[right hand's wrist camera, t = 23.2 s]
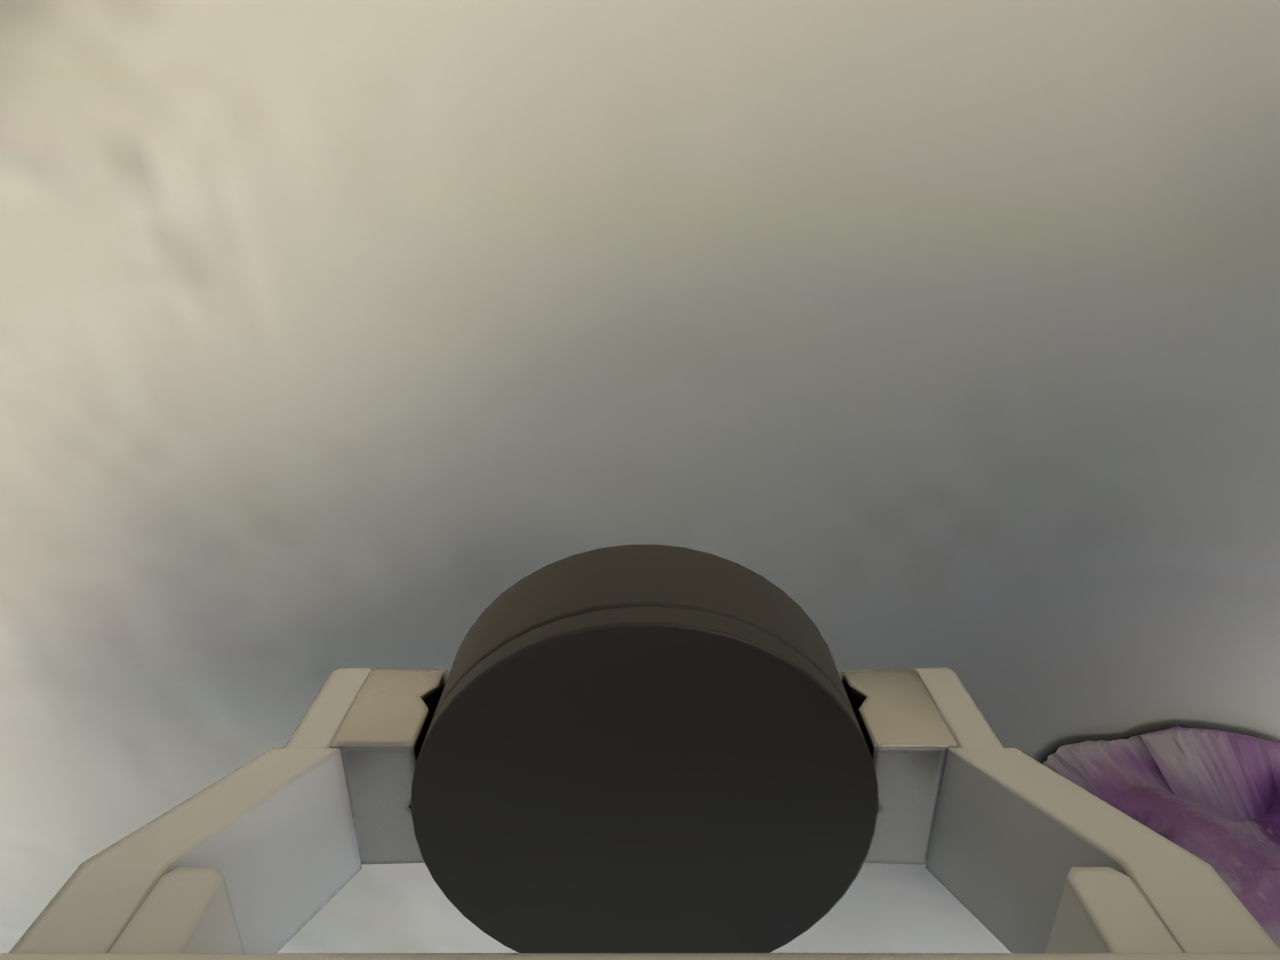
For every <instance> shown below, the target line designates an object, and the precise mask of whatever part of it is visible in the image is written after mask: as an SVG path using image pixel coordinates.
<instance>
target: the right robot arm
mask: <svg viewBox="0 0 1280 960" xmlns="http://www.w3.org/2000/svg"><path fill="white" fill-rule="evenodd" d="M838 673H839V676H840V678H841V681H842V683H843V686H844V688H845V691H846V693H847V696H848V698H849V701H850V703H851V706H852V708H853V711H854V713H855V716H856V718H857V721H858V724H859V726H860V729H861V731H862V734H863V736H864V739H865V741H866V744H867V746H868V749H869V751H870V754H871V756H872V759H873V763H874V768H875V773H876V778H877V782H878V814H877V821H876V828H875V833H874V837H873V840H872V843H871V846H870V849H869V853H868V855H867V857H866V859H865V861H864V863H895V864H926V868H927V869H928V870H929V871H930V872H931V873H932V874H933V875H934V876H935V877H936V878H937V879H938V880H939V881H940V882H941V883H942V884H943V885H944V886H945V887H946V888H947V889H948V890H949V891H950V892H951V893H952V894H953V895H954V896H955V897H956V898H957V899H958V900H959V901H960V902H961V903H962V904H963V905H964V906H965V907H966V908H967V909H968V910H969V911H970V912H971V913H972V914H973V915H974V916H975V917H976V918H977V919H978V920H979V921H980V922H981V923H982V924H983V925H984V926H985V927H986V928H987V929H988V930H989V931H990V932H991V933H992V934H993V935H994V936H995V937H996V938H997V939H998V940H999V941H1000V942H1001V943H1002V944H1003V945H1004V946H1005V947H1006V948H1007V949H1008V950H1009V951H1010V952H1011V953H277V952H278V951H279V950H280V949H281V948H282V947H283V946H284V945H285V944H286V943H287V942H288V941H289V940H290V939H291V938H292V937H293V936H294V935H295V934H296V933H297V932H298V931H299V930H300V929H301V928H302V927H303V926H304V925H305V924H306V923H307V922H308V921H309V920H310V919H311V918H312V917H313V916H314V915H315V914H316V913H317V912H318V911H319V910H320V909H321V908H322V907H323V906H324V905H325V904H326V903H327V902H328V901H329V900H330V899H331V898H332V897H333V896H334V895H335V894H336V893H337V892H338V891H339V890H340V889H341V888H342V887H343V886H344V885H345V884H346V883H347V882H348V881H349V880H350V879H351V878H352V877H353V876H354V875H355V874H356V873H357V872H358V871H359V870H360V869H361V864H392V863H425V862H424V860H423V858H422V855H421V852H420V849H419V846H418V843H417V840H416V837H415V832H414V826H413V820H412V814H411V786H412V781H413V775H414V770H415V765H416V761H417V758H418V756H419V753H420V750H421V748H422V745H423V742H424V740H425V737H426V734H427V732H428V729H429V726H430V724H431V721H432V719H433V716H434V713H435V711H436V708H437V705H438V703H439V700H440V697H441V695H442V692H443V690H444V687H445V684H446V682H447V679H448V676H449V674H450V673H449V671H448V670H443V669H396V668H376V669H373V668H339V669H337V670H335V671H333V672H332V673H331V674H330V676H329V678H328V679H327V681H326V682H325V684H324V686H323V687H322V689H321V690H320V692H319V694H318V695H317V697H316V698H315V700H314V702H313V703H312V705H311V706H310V708H309V710H308V711H307V713H306V714H305V716H304V718H303V719H302V721H301V722H300V724H299V725H298V727H297V729H296V730H295V732H294V733H293V735H292V737H291V738H290V740H289V741H288V743H287V745H286V746H285V748H272V749H271V750H269V751H267V752H266V753H264V754H262V755H261V756H259V757H257V758H256V759H254V760H252V761H251V762H249V763H247V764H246V765H244V766H242V767H241V768H239V769H237V770H236V771H234V772H232V773H231V774H229V775H227V776H226V777H224V778H222V779H221V780H219V781H218V782H216V783H214V784H213V785H211V786H209V787H208V788H206V789H204V790H203V791H201V792H199V793H198V794H196V795H194V796H193V797H191V798H189V799H188V800H186V801H184V802H183V803H181V804H179V805H178V806H176V807H174V808H173V809H171V810H169V811H168V812H166V813H164V814H163V815H161V816H159V817H158V818H156V819H154V820H153V821H151V822H149V823H148V824H146V825H145V826H143V827H141V828H140V829H138V830H136V831H135V832H133V833H131V834H130V835H128V836H126V837H125V838H123V839H121V840H120V841H118V842H116V843H115V844H113V845H111V846H110V847H108V848H106V849H105V850H103V851H101V852H100V853H98V854H96V855H95V856H93V857H91V858H90V859H88V860H86V861H85V862H83V863H82V864H81V865H80V866H79V867H78V868H77V870H76V871H75V872H74V873H73V875H72V876H71V877H70V878H69V879H68V881H67V882H66V883H65V884H64V886H63V887H62V888H61V889H60V891H59V892H58V893H57V894H56V895H55V897H54V898H53V899H52V900H51V902H50V903H49V904H48V905H47V906H46V908H45V909H44V910H43V911H42V913H41V914H40V915H39V916H38V917H37V919H36V920H35V921H34V922H33V924H32V925H31V926H30V927H29V929H28V930H27V931H26V932H25V933H24V935H23V936H22V937H21V938H20V940H19V941H18V942H17V943H16V944H15V946H14V947H13V948H12V949H11V951H10V952H9V953H0V960H1280V949H1279V948H1278V947H1277V945H1276V944H1275V943H1274V942H1273V940H1272V939H1271V938H1270V937H1269V936H1268V934H1267V933H1266V932H1265V931H1264V930H1263V928H1262V927H1261V926H1260V925H1259V924H1258V922H1257V921H1256V920H1255V919H1254V917H1253V916H1252V915H1251V914H1250V913H1249V911H1248V910H1247V909H1246V908H1245V907H1244V905H1243V904H1242V903H1241V902H1240V900H1239V899H1238V898H1237V897H1236V896H1235V894H1234V893H1233V892H1232V891H1231V890H1230V888H1229V887H1228V886H1227V885H1226V884H1225V882H1224V881H1223V880H1222V879H1221V877H1220V876H1219V875H1218V874H1217V873H1216V871H1215V870H1214V869H1213V868H1212V867H1211V865H1210V864H1208V863H1206V862H1205V861H1203V860H1201V859H1200V858H1198V857H1196V856H1195V855H1193V854H1191V853H1190V852H1188V851H1186V850H1185V849H1183V848H1181V847H1180V846H1178V845H1176V844H1175V843H1173V842H1171V841H1170V840H1168V839H1166V838H1165V837H1163V836H1161V835H1160V834H1158V833H1156V832H1155V831H1153V830H1151V829H1150V828H1148V827H1146V826H1145V825H1143V824H1141V823H1140V822H1138V821H1136V820H1135V819H1133V818H1131V817H1129V816H1128V815H1126V814H1124V813H1123V812H1121V811H1119V810H1118V809H1116V808H1114V807H1113V806H1111V805H1109V804H1108V803H1106V802H1104V801H1103V800H1101V799H1099V798H1098V797H1096V796H1094V795H1093V794H1091V793H1089V792H1088V791H1086V790H1084V789H1083V788H1081V787H1079V786H1078V785H1076V784H1074V783H1073V782H1071V781H1069V780H1068V779H1066V778H1064V777H1063V776H1061V775H1059V774H1058V773H1056V772H1054V771H1053V770H1051V769H1049V768H1048V767H1046V766H1044V765H1043V764H1041V763H1039V762H1038V761H1036V760H1034V759H1033V758H1031V757H1029V756H1028V755H1026V754H1024V753H1023V752H1021V751H1019V750H1018V749H1016V748H1003V746H1002V745H1001V743H1000V741H999V740H998V738H997V737H996V735H995V734H994V732H993V731H992V729H991V728H990V726H989V725H988V723H987V721H986V720H985V718H984V717H983V715H982V714H981V712H980V711H979V709H978V708H977V706H976V704H975V703H974V701H973V700H972V698H971V697H970V695H969V694H968V692H967V691H966V689H965V687H964V686H963V684H962V683H961V681H960V680H959V678H958V677H957V675H956V674H955V672H954V671H953V670H951V669H949V668H948V667H947V668H915V669H911V670H838Z"/></svg>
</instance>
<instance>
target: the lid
mask: <svg viewBox="0 0 1280 960" xmlns="http://www.w3.org/2000/svg"><path fill="white" fill-rule="evenodd" d="M411 814H412V820H413V826H414V832H415V837H416V840H417V843H418V846H419V849H420V852H421V855H422V858H423V860H424V862H425V864H426V866H427V868H428V869H429V871H430V873H431V875H432V877H433V879H434V880H435V882H436V883H437V885H438V886H439V887H440V889H441V890H442V892H443V893H444V894H445V896H446V897H447V898H448V899H449V901H450V902H451V903H452V904H453V905H454V906H455V907H456V908H457V909H458V910H459V911H460V912H461V913H462V914H463V915H464V916H465V917H466V918H467V919H468V920H470V921H471V922H472V923H473V924H475V925H476V926H477V927H478V928H479V929H481V930H482V931H483V932H485V933H486V934H488V935H489V936H491V937H492V938H494V939H495V940H497V941H498V942H500V943H502V944H503V945H505V946H507V947H509V948H511V949H513V950H515V951H517V952H519V953H770V952H772V951H774V950H776V949H778V948H779V947H781V946H783V945H785V944H787V943H789V942H790V941H792V940H793V939H795V938H796V937H798V936H799V935H801V934H802V933H804V932H805V931H807V930H808V929H809V928H811V927H812V926H813V925H814V924H815V923H816V922H818V921H819V920H820V919H821V918H822V917H823V916H825V915H826V914H827V913H828V912H829V911H830V910H831V909H832V908H833V906H834V905H835V904H836V903H837V902H838V901H839V900H840V899H841V898H842V897H843V896H844V894H845V893H846V891H847V890H848V888H849V887H850V886H851V884H852V883H853V881H854V880H855V878H856V877H857V875H858V873H859V871H860V869H861V867H862V865H863V863H864V861H865V859H866V857H867V855H868V853H869V849H870V846H871V843H872V840H873V837H874V833H875V828H876V821H877V814H878V782H877V778H876V773H875V768H874V763H873V759H872V756H871V754H870V751H869V749H868V746H867V744H866V741H865V739H864V736H863V734H862V731H861V729H860V726H859V724H858V721H857V718H856V716H855V713H854V711H853V708H852V706H851V703H850V701H849V698H848V696H847V693H846V691H845V688H844V686H843V683H842V681H841V678H840V676H839V673H838V671H837V668H836V666H835V663H834V661H833V658H832V655H831V653H830V650H829V648H828V646H827V644H826V642H825V640H824V639H823V637H822V635H821V634H820V632H819V630H818V629H817V627H816V625H815V624H814V623H813V622H812V620H811V619H810V618H809V617H808V616H807V614H806V613H805V612H804V611H803V609H802V608H801V607H800V606H799V605H798V604H797V603H796V602H794V601H793V600H792V599H791V598H790V597H789V596H788V595H787V594H786V593H785V592H784V591H782V590H781V589H780V588H778V587H777V586H775V585H774V584H772V583H771V582H769V581H768V580H767V579H765V578H764V577H762V576H761V575H759V574H757V573H755V572H753V571H751V570H749V569H747V568H745V567H743V566H741V565H739V564H737V563H735V562H732V561H729V560H726V559H724V558H721V557H718V556H715V555H713V554H709V553H705V552H701V551H696V550H692V549H688V548H683V547H674V546H664V545H623V546H615V547H607V548H600V549H596V550H592V551H588V552H584V553H580V554H576V555H573V556H570V557H567V558H565V559H562V560H560V561H557V562H554V563H552V564H549V565H547V566H545V567H543V568H541V569H539V570H538V571H536V572H534V573H532V574H530V575H528V576H526V577H525V578H523V579H522V580H520V581H519V582H517V583H516V584H515V585H513V586H512V587H510V588H509V589H508V590H506V591H505V592H504V593H502V594H501V595H500V596H499V597H498V598H497V599H496V600H495V601H494V602H493V603H492V604H491V605H490V606H489V607H488V608H487V609H486V610H485V611H484V612H483V613H482V614H481V616H480V617H479V618H478V620H477V621H476V622H475V623H474V625H473V626H472V627H471V629H470V630H469V632H468V634H467V635H466V637H465V639H464V641H463V643H462V644H461V646H460V648H459V650H458V653H457V655H456V658H455V661H454V663H453V666H452V668H451V671H450V674H449V676H448V679H447V682H446V684H445V687H444V690H443V692H442V695H441V697H440V700H439V703H438V705H437V708H436V711H435V713H434V716H433V719H432V721H431V724H430V726H429V729H428V732H427V734H426V737H425V740H424V742H423V745H422V748H421V750H420V753H419V756H418V758H417V761H416V765H415V770H414V775H413V781H412V786H411Z"/></svg>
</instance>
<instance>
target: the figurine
mask: <svg viewBox="0 0 1280 960" xmlns="http://www.w3.org/2000/svg"><path fill="white" fill-rule="evenodd" d="M1043 765H1044V766H1046V767H1048V768H1049V769H1051V770H1053V771H1054V772H1056V773H1058V774H1059V775H1061V776H1063V777H1064V778H1066V779H1068V780H1069V781H1071V782H1073V783H1074V784H1076V785H1078V786H1079V787H1081V788H1083V789H1084V790H1086V791H1088V792H1089V793H1091V794H1093V795H1094V796H1096V797H1098V798H1099V799H1101V800H1103V801H1104V802H1106V803H1108V804H1109V805H1111V806H1113V807H1114V808H1116V809H1118V810H1119V811H1121V812H1123V813H1124V814H1126V815H1128V816H1129V817H1131V818H1133V819H1135V820H1136V821H1138V822H1140V823H1141V824H1143V825H1145V826H1146V827H1148V828H1150V829H1151V830H1153V831H1155V832H1156V833H1158V834H1160V835H1161V836H1163V837H1165V838H1166V839H1168V840H1170V841H1171V842H1173V843H1175V844H1176V845H1178V846H1180V847H1181V848H1183V849H1185V850H1186V851H1188V852H1190V853H1191V854H1193V855H1195V856H1196V857H1198V858H1200V859H1201V860H1203V861H1205V862H1206V863H1208V864H1210V865H1211V867H1212V868H1213V869H1214V870H1215V871H1216V873H1217V874H1218V875H1219V876H1220V877H1221V879H1222V880H1223V881H1224V882H1225V884H1226V885H1227V886H1228V887H1229V888H1230V890H1231V891H1232V892H1233V893H1234V894H1235V896H1236V897H1237V898H1238V899H1239V900H1240V902H1241V903H1242V904H1243V905H1244V907H1245V908H1246V909H1247V910H1248V911H1249V913H1250V914H1251V915H1252V916H1253V917H1254V919H1255V920H1256V921H1257V922H1258V924H1259V925H1260V926H1261V927H1262V928H1263V930H1264V931H1265V932H1266V933H1267V934H1268V936H1269V937H1270V938H1271V939H1272V940H1273V942H1274V943H1275V944H1276V945H1277V947H1278V948H1279V949H1280V742H1279V741H1272V740H1268V739H1263V738H1258V737H1253V736H1248V735H1244V734H1238V733H1233V732H1228V731H1222V730H1217V729H1205V728H1183V727H1181V726H1178V725H1177V726H1175V727H1172V728H1170V729H1166V730H1160V731H1154V732H1149V733H1145V734H1141V735H1137V736H1132V737H1130V738H1129V739H1117V740H1112V741H1104V740H1099V741H1089V740H1088V741H1084V742H1081V743H1075V744H1068V745H1063V746H1061V747H1059V748H1058V749H1057V751H1056V753H1053V754H1051V755H1049V756H1048V758H1047V760H1046V761H1045V762H1043Z"/></svg>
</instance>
